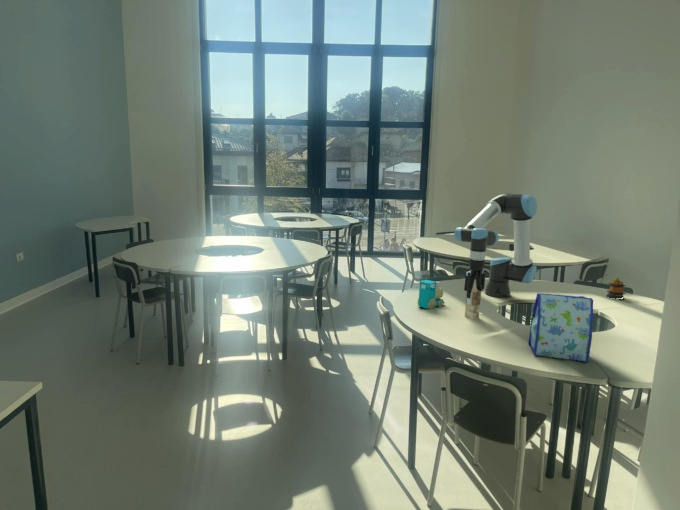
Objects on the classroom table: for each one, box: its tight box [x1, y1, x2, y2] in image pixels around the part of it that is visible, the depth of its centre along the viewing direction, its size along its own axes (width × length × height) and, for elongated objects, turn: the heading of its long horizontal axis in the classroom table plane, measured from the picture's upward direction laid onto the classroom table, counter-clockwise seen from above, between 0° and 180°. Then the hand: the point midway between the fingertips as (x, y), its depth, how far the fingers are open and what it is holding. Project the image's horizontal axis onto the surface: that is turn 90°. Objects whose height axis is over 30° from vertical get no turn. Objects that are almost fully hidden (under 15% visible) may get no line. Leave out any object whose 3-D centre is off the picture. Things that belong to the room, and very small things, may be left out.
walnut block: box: [465, 288, 482, 306], centre depth 240 cm, size 5×5×7 cm
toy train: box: [417, 279, 445, 310], centre depth 262 cm, size 8×17×15 cm, turn 134°
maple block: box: [464, 303, 481, 320], centre depth 242 cm, size 5×5×7 cm
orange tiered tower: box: [606, 277, 627, 299], centre depth 294 cm, size 13×10×12 cm
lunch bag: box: [528, 292, 594, 363], centre depth 199 cm, size 22×17×26 cm
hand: (472, 303), depth 241 cm, fingers closed on walnut block, 5 cm apart
